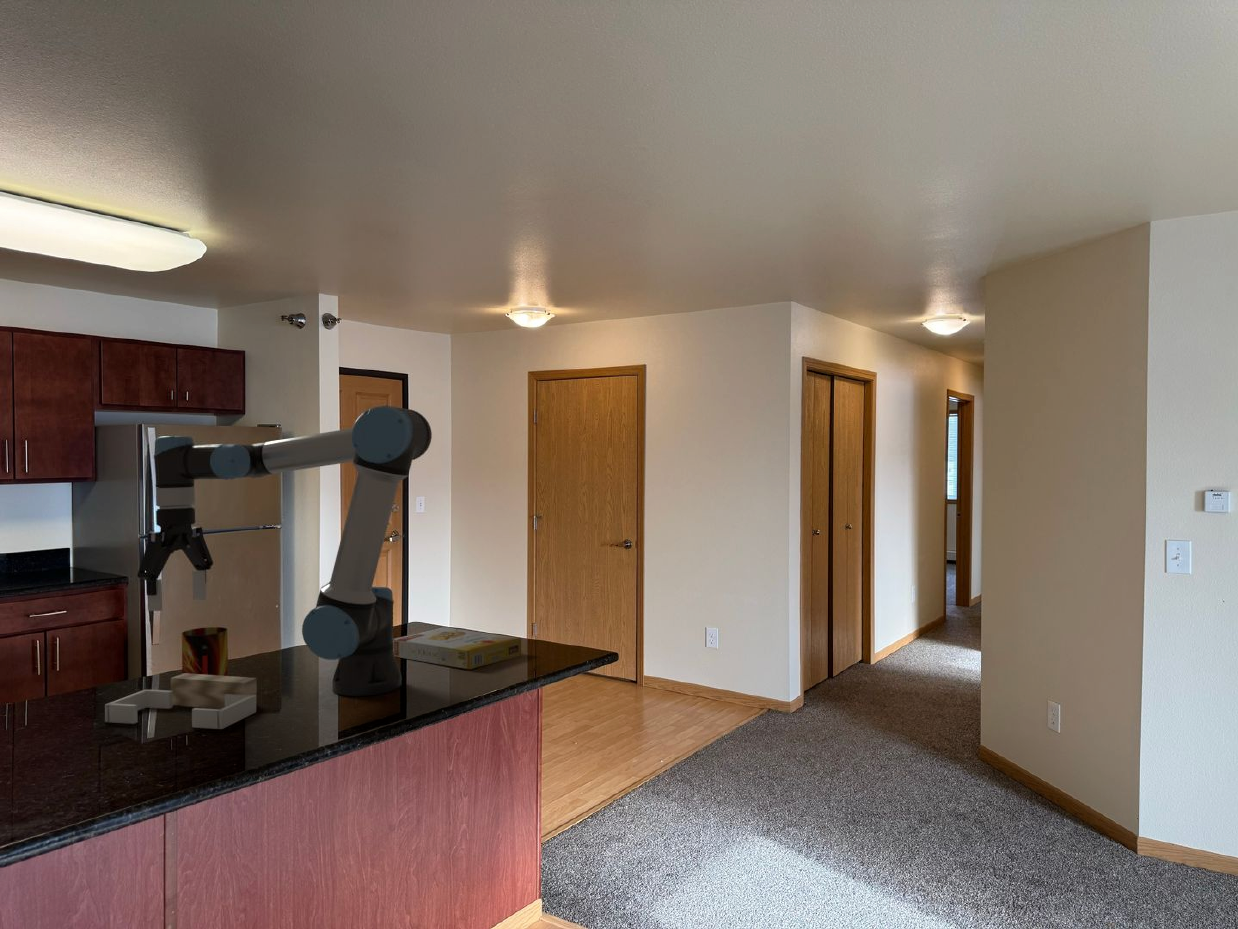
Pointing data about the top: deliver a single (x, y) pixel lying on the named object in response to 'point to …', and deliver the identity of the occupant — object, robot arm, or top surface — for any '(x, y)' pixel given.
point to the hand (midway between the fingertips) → (178, 605)
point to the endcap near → (225, 712)
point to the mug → (205, 651)
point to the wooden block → (209, 689)
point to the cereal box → (457, 647)
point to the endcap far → (137, 705)
